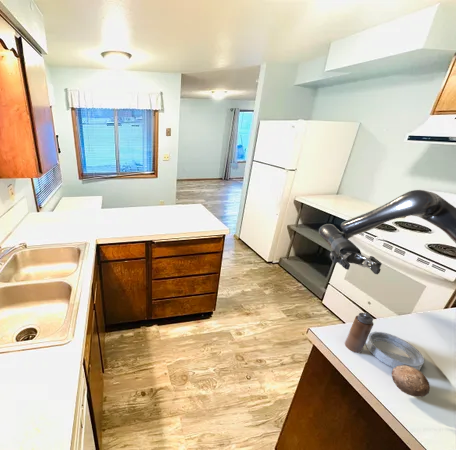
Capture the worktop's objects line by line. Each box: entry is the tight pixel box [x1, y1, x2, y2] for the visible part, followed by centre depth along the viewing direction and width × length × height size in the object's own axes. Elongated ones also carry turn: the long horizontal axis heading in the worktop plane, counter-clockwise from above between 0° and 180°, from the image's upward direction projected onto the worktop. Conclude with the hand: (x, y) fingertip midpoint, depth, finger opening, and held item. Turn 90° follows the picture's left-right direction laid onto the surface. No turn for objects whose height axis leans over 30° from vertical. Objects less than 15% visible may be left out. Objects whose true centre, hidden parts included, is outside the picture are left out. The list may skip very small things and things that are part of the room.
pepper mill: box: [344, 312, 375, 354], centre depth 79 cm, size 5×5×15 cm
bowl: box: [365, 331, 425, 371], centre depth 79 cm, size 13×13×4 cm
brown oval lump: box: [391, 365, 431, 398], centre depth 68 cm, size 8×8×6 cm
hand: (362, 269), depth 82 cm, fingers open, 8 cm apart
